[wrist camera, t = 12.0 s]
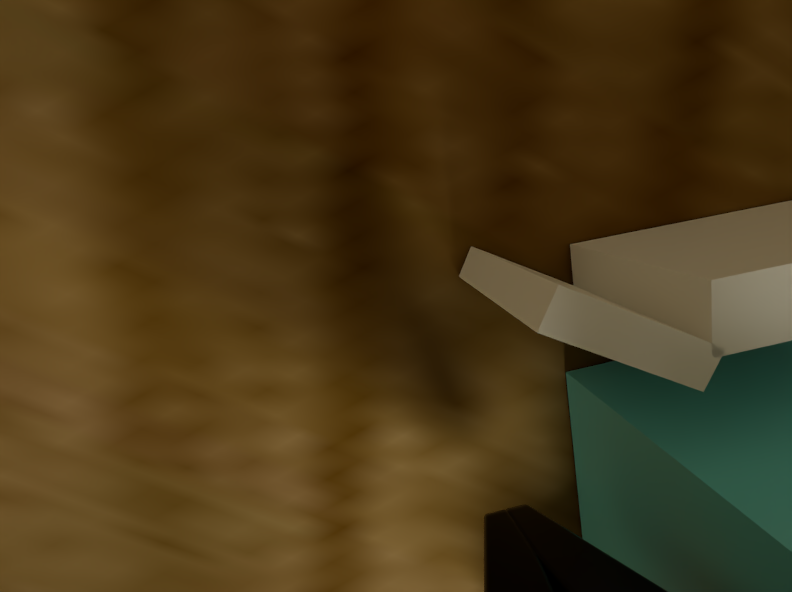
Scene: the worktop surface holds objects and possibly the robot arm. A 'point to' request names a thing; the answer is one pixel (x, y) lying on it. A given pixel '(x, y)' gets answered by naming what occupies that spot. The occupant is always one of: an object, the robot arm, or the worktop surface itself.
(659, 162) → the worktop surface
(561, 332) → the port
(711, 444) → the plug
